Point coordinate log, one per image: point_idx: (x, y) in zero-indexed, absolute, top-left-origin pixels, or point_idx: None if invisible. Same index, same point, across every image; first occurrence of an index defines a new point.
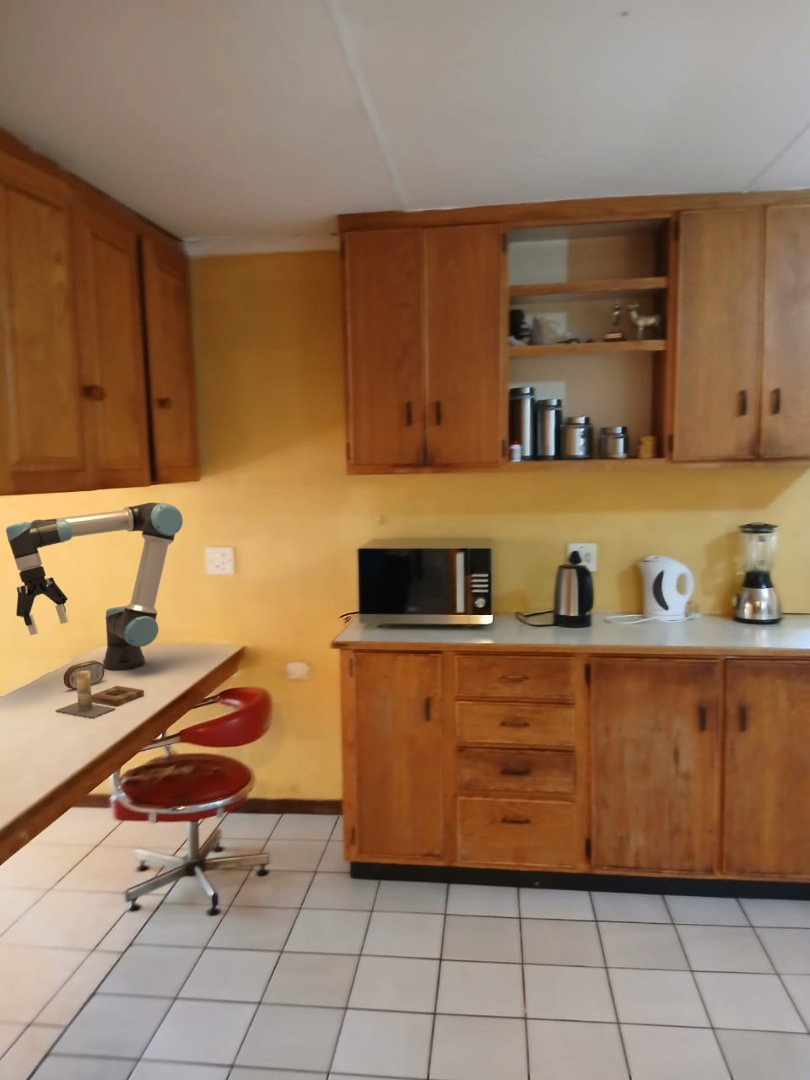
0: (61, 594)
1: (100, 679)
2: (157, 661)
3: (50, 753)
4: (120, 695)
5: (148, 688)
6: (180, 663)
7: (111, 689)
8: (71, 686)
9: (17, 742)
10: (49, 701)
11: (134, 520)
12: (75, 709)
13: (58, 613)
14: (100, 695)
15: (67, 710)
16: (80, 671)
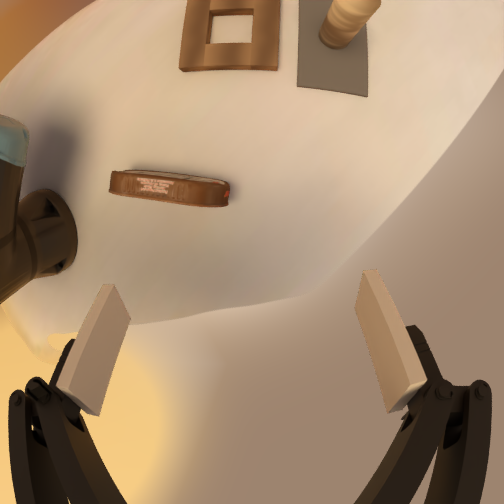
0: (23, 445)
1: (139, 170)
2: None
3: (480, 8)
4: (244, 5)
5: (142, 33)
6: None
7: (210, 54)
8: (222, 181)
9: (487, 72)
10: (312, 169)
11: None
12: (345, 55)
13: (109, 366)
14: (263, 43)
15: (358, 68)
16: (356, 5)
